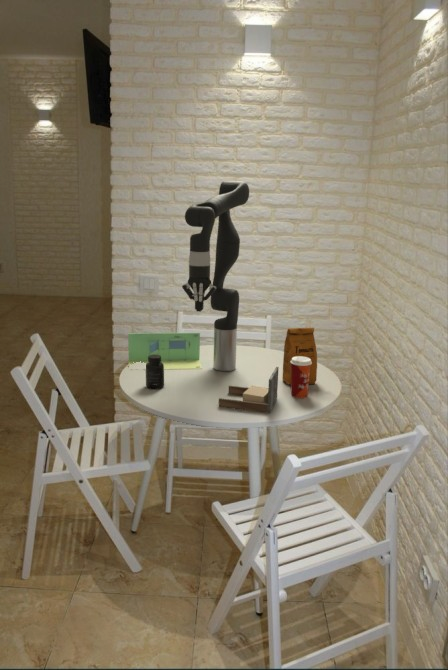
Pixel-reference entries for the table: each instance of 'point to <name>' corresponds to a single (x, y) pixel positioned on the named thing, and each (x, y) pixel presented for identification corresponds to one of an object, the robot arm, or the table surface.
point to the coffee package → (300, 351)
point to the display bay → (252, 405)
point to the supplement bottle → (154, 372)
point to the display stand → (166, 349)
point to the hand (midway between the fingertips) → (199, 311)
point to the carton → (256, 394)
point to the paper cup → (300, 376)
